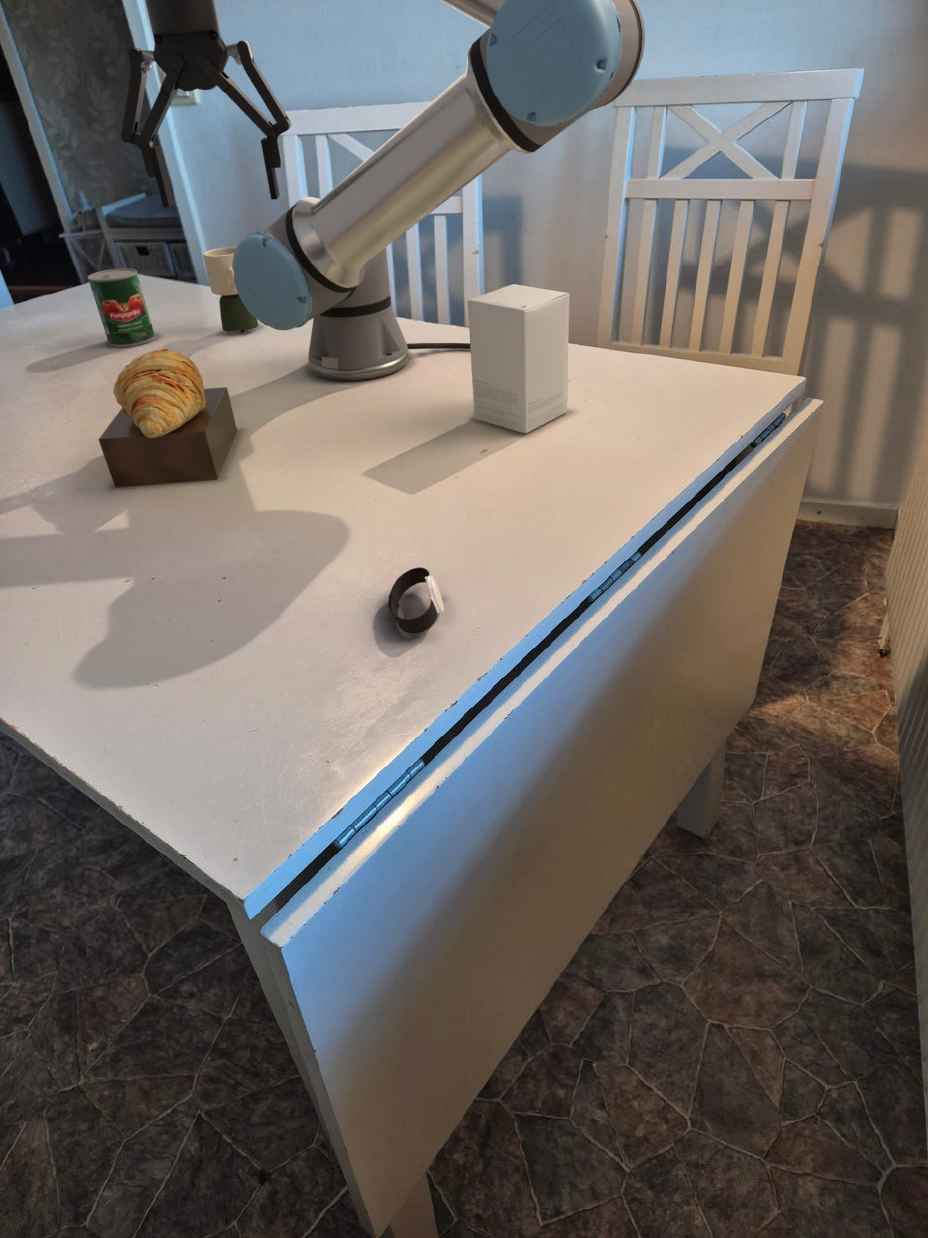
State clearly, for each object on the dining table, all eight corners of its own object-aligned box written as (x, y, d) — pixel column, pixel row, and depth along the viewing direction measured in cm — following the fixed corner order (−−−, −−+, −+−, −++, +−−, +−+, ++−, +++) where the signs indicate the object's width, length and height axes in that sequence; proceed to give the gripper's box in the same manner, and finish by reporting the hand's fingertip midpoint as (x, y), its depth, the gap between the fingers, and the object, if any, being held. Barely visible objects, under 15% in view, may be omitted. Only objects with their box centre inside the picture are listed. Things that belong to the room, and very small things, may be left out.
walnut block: (237, 431, 106) (227, 386, 102) (217, 479, 95) (205, 431, 91) (145, 438, 106) (132, 393, 102) (114, 487, 94) (98, 439, 91)
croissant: (190, 471, 91) (209, 407, 87) (94, 442, 87) (109, 374, 83) (202, 399, 107) (218, 343, 103) (121, 373, 103) (135, 313, 99)
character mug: (267, 334, 140) (251, 254, 132) (225, 341, 138) (206, 260, 130) (256, 319, 148) (240, 242, 140) (216, 325, 146) (198, 248, 138)
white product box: (570, 412, 105) (572, 291, 96) (525, 435, 100) (524, 310, 91) (516, 397, 110) (514, 281, 101) (471, 418, 105) (465, 298, 96)
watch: (446, 636, 68) (443, 601, 66) (390, 642, 67) (385, 606, 65) (441, 586, 74) (438, 552, 72) (389, 590, 74) (385, 556, 72)
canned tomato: (137, 330, 146) (118, 266, 140) (164, 336, 142) (146, 270, 136) (99, 343, 141) (77, 276, 135) (126, 349, 137) (105, 281, 131)
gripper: (292, -15, 94) (322, 189, 107) (77, 0, 94) (132, 203, 106) (285, -18, 88) (317, 199, 101) (54, -2, 88) (115, 214, 100)
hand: (222, 201), depth 103 cm, fingers open, 13 cm apart
